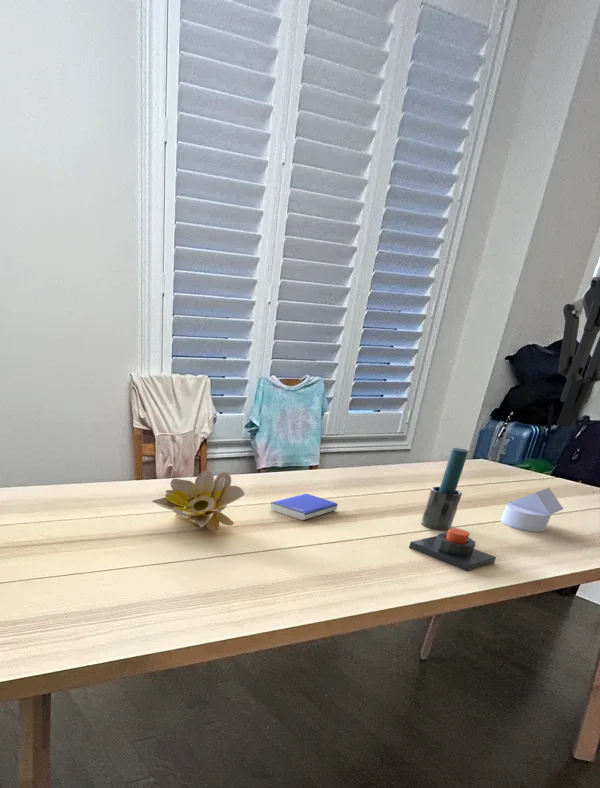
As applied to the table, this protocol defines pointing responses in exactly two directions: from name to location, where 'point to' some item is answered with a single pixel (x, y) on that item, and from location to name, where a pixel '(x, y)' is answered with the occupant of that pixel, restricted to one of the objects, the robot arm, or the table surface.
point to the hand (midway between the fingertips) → (564, 425)
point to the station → (453, 552)
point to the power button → (457, 536)
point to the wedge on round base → (531, 511)
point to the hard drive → (303, 506)
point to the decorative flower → (202, 499)
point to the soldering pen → (453, 471)
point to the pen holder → (440, 509)
